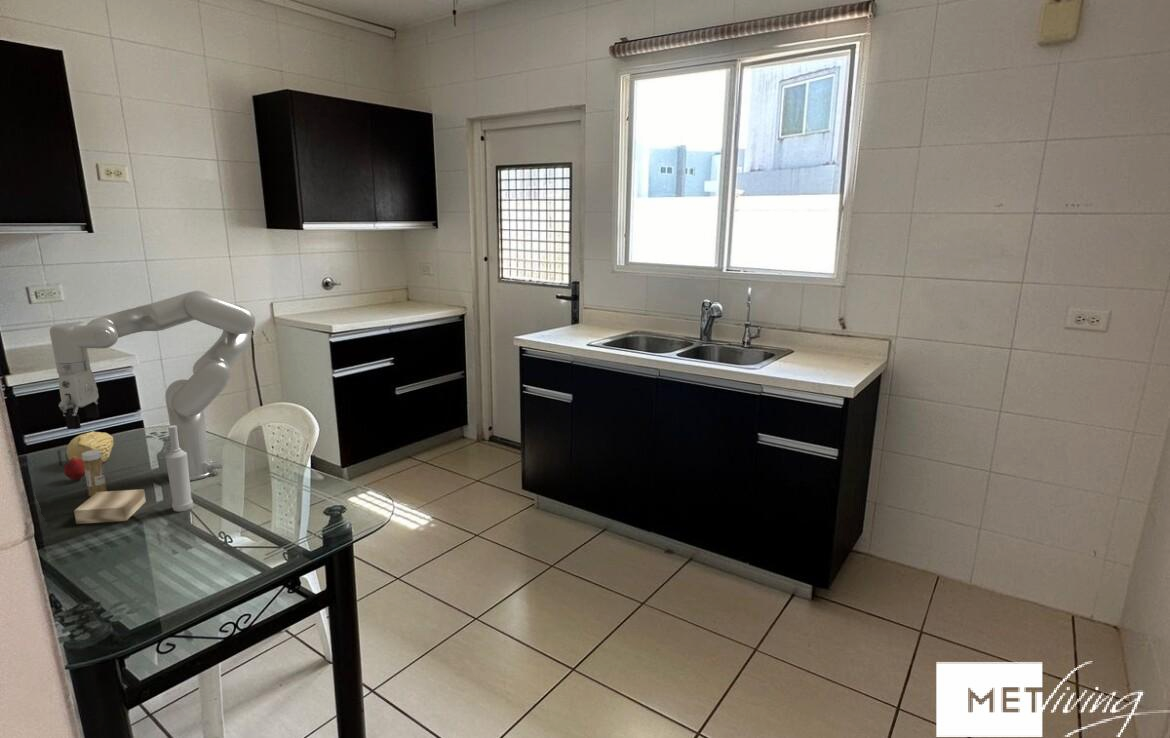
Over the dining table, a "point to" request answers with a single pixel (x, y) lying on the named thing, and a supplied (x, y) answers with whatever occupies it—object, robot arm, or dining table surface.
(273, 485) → the dining table surface
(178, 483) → the bottle
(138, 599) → the dining table surface
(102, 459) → the sculpture
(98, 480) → the sprinkles bottle
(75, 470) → the red rounded lump
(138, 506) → the wooden base
